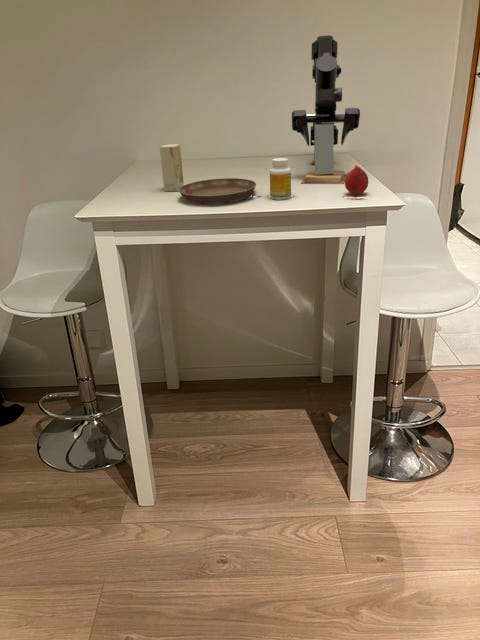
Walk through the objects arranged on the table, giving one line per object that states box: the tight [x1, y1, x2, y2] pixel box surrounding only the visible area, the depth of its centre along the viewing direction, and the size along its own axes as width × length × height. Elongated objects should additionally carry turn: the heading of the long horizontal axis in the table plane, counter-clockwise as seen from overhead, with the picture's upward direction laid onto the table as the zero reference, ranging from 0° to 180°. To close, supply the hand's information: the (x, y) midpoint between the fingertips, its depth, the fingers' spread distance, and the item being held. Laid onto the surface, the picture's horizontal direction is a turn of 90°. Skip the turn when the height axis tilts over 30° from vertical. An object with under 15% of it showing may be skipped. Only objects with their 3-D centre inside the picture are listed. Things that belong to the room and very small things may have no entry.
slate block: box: [314, 124, 335, 175], centre depth 147 cm, size 5×5×13 cm
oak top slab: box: [303, 170, 345, 183], centre depth 150 cm, size 10×10×2 cm
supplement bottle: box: [269, 157, 292, 201], centre depth 133 cm, size 5×5×10 cm
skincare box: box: [159, 143, 185, 192], centre depth 149 cm, size 6×4×12 cm
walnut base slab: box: [300, 174, 347, 185], centre depth 151 cm, size 12×12×2 cm
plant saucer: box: [178, 177, 257, 206], centre depth 139 cm, size 21×21×3 cm
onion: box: [344, 164, 369, 198], centre depth 131 cm, size 6×6×8 cm
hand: (325, 144), depth 145 cm, fingers open, 9 cm apart
